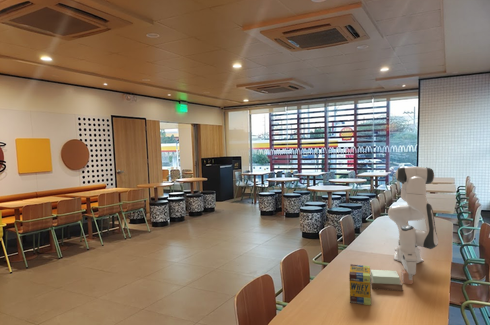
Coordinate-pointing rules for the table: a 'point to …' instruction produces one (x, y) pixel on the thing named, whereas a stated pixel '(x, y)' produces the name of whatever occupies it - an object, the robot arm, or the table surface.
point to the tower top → (385, 277)
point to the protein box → (360, 284)
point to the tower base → (386, 286)
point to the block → (406, 277)
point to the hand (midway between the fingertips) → (408, 276)
